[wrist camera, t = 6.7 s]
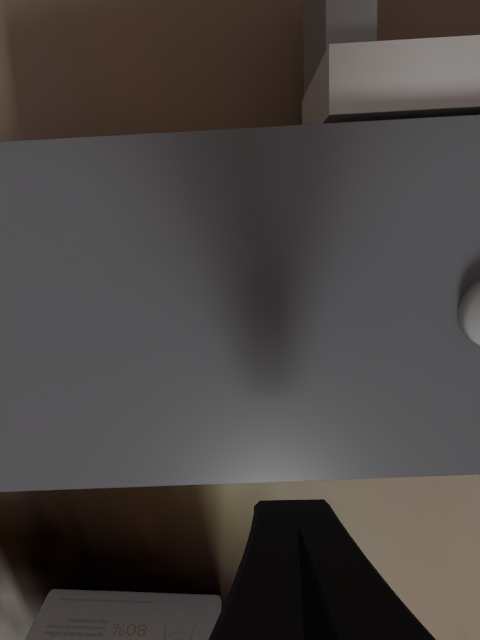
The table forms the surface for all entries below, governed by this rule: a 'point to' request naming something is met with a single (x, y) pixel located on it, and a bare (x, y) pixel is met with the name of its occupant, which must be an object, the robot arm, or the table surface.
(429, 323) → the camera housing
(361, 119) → the camera door
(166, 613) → the small box
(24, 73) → the table surface
